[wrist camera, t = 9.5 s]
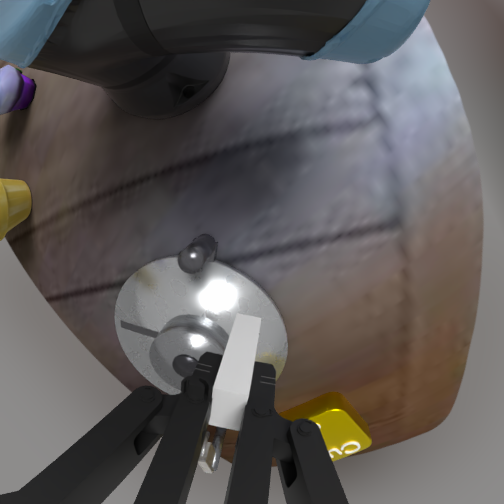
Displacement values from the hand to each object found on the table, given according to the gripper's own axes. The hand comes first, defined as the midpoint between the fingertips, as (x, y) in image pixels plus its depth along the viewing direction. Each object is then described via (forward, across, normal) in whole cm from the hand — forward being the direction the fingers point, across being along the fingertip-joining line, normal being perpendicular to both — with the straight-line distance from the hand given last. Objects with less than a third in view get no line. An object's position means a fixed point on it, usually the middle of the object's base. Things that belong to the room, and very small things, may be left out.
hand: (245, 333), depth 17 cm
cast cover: (+14, -6, -13) cm, 20 cm away
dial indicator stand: (+16, -1, -29) cm, 33 cm away
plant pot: (+16, -40, +1) cm, 43 cm away
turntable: (+15, -7, -12) cm, 20 cm away
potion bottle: (+16, -42, +19) cm, 49 cm away
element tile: (+17, +15, -28) cm, 36 cm away
